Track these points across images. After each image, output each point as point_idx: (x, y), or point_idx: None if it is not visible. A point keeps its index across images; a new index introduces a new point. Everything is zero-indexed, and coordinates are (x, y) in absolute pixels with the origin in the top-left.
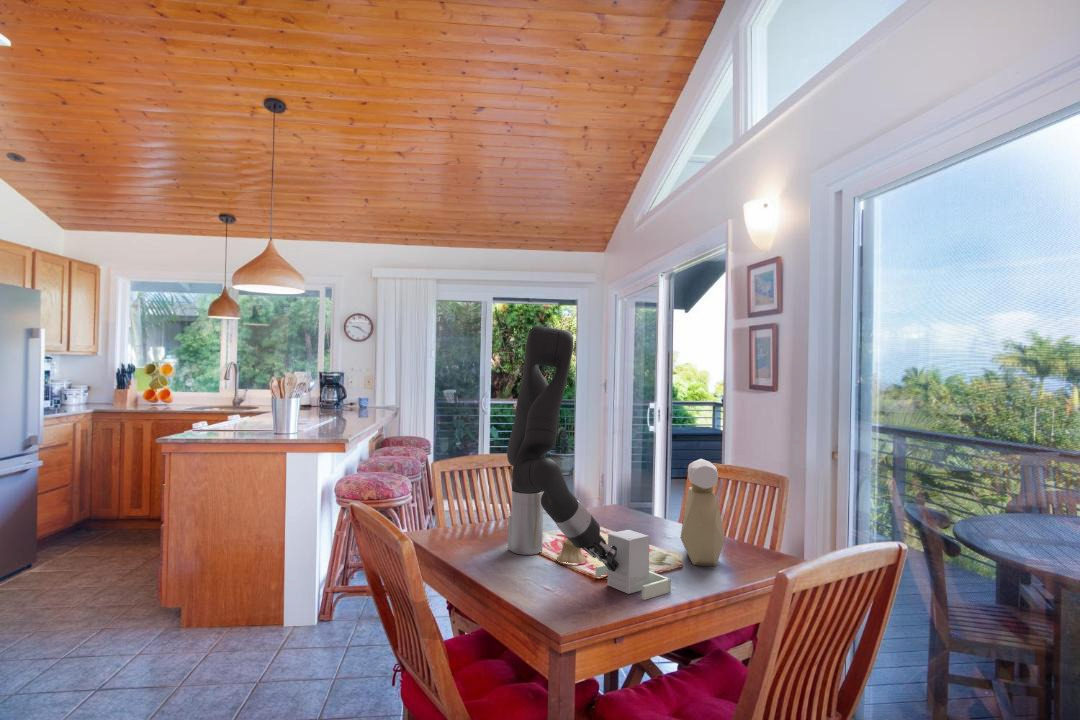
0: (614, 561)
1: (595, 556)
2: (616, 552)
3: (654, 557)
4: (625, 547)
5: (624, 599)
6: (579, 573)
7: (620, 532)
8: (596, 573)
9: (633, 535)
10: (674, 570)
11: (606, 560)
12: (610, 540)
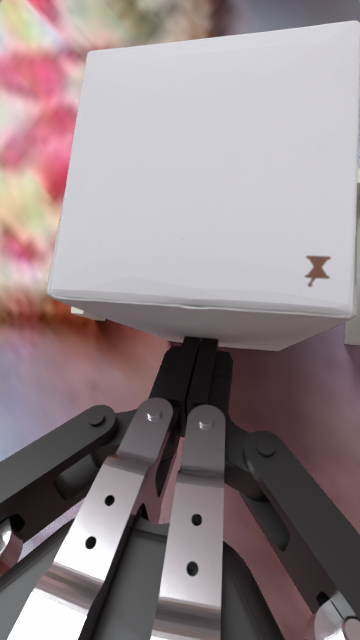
0: (229, 390)
1: (158, 522)
2: (346, 522)
3: (100, 5)
4: (285, 327)
5: (302, 399)
6: (26, 325)
7: (103, 179)
8: (89, 317)
9: (258, 150)
10: (225, 33)
11: (247, 506)
12: (105, 312)
